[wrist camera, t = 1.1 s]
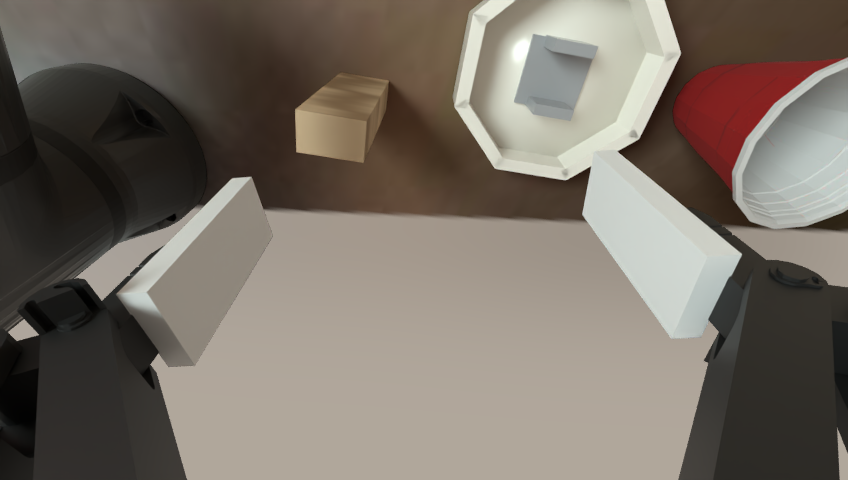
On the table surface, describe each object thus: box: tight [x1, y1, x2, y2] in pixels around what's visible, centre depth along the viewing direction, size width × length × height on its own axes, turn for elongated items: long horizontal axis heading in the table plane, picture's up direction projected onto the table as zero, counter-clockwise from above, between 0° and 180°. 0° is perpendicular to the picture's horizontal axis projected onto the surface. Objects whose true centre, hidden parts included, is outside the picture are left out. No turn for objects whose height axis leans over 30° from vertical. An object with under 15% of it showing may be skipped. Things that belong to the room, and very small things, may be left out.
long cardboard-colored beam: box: [295, 72, 389, 163], centre depth 27 cm, size 4×2×12 cm, turn 81°
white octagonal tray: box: [453, 0, 681, 180], centre depth 29 cm, size 15×15×4 cm
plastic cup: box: [672, 58, 848, 229], centre depth 26 cm, size 11×11×12 cm
